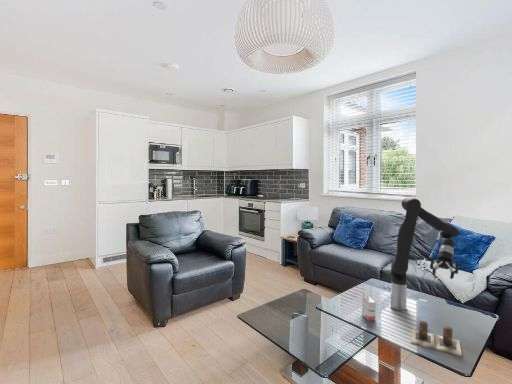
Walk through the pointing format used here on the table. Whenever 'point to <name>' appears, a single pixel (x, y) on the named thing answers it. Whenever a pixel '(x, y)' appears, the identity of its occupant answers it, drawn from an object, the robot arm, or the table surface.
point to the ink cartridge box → (368, 308)
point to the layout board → (436, 343)
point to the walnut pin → (447, 335)
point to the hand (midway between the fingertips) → (442, 276)
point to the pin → (423, 329)
